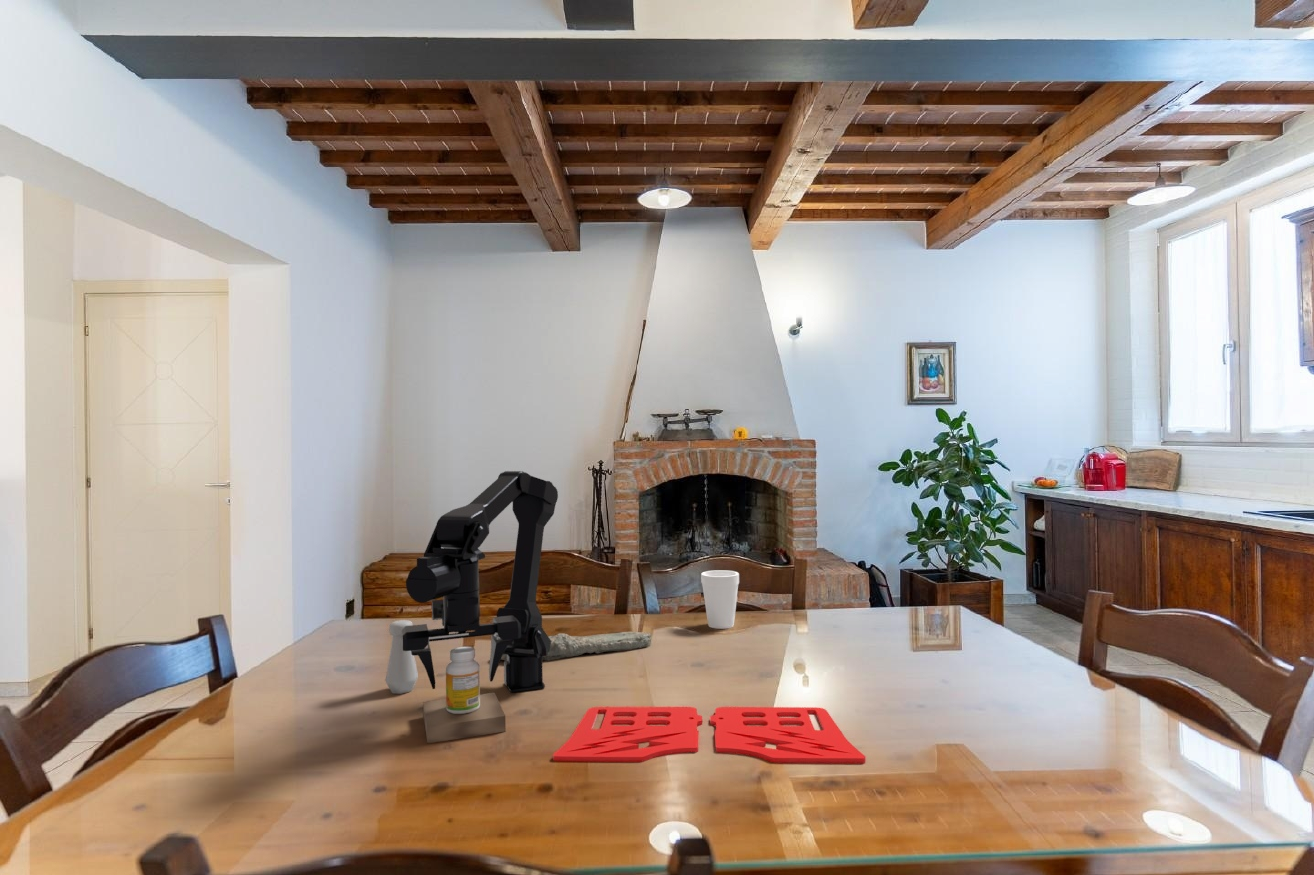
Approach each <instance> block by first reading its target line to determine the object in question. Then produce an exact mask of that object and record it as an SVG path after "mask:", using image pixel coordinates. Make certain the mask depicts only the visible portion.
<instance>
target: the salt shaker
mask: <svg viewBox="0 0 1314 875" xmlns="http://www.w3.org/2000/svg"><path fill="white" fill-rule="evenodd" d="M412 625H414V624H413V622H412V621H411V620H407V619H400V620H395V621H393V622H391V623H390V624H389V628H388V632H389V635H390V636H392V638H391V639H392V640H391V646H390V651H389V658H388V663H387V670H386V675H385V680H384V681H385V684H386V685H387V687H388V688H389V691H390V692H391V694H398V695H401V694H406V693H410V692H412V691H413V690H414V689H415V685H416V683H417V681H418V676H419V674H418V668H417V662H416V658H415V656H413V655H411V651H403V648H402V629H403V628H404V627H405V626H412Z"/></svg>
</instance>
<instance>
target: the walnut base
mask: <svg viewBox="0 0 1314 875" xmlns="http://www.w3.org/2000/svg"><path fill="white" fill-rule="evenodd" d="M422 718H423V725H424V731H425V737H426V743H427V744H435V743H441V742H446V741H453V740H458V739H459V740H460V739H467V738H472V737H479V736H485V735H486V736H487V735H491V734H498V733H505V732H506V731H507V729H506V728H507V726H506V725H507V724H506V714H505V712H504V710H503V708H502V706H501V703H500V701H499V699H498V696H497V695H496V693H495V692H489V693H482V694H481V693H480V707H479V708H478V709H477V710H475V711H473V712H470V713H465V714H453V713H450V712H448V711H447V708H446V698H444V699H437V700H430V701H428V700H427V701H422Z"/></svg>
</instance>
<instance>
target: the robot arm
mask: <svg viewBox="0 0 1314 875" xmlns="http://www.w3.org/2000/svg"><path fill="white" fill-rule="evenodd" d="M497 477H498V478H497V479H495V481H493V482H492V483H491V484H490V485H489V486H487V487H486V488H485V489H484V490H483V491H482V492H481V493H480V494H478V496H476V497H475V498H474V499H473V500H472V501H471V502H470V503H468V504H467V505H464V506H461V507H458V508H454V509H452V510H450V511H448V512H446V513H445V514H444V513H443V515H441V516H440V517H439V518H438V520H437V522H436V525H435V527H434V529H433V531H432V534H431V537H430V539H429V541H428V544H427V546H426V549H425V551H424V554H423V556H420V557H417V558H416V566H414V567H413V568H411V570H410V571H409V573H408V575H407V578H406V580H405V586H406V591H407V593H408V595H409V596H410V597H411V599H412V600H413V601H415V602H417V603H419V604H425V603H428V602H431V617H432V618H431V620H432V621H439V620H441V624H442V627H443V628H433V629H429V628H428V625H427V623H424V624H413V625H412V626H405V627H404V628H403V629H402V648H403V651H411V655H413V656H414V657H415V656H418V658H419V659H420V661H421V663H422V665H423V667H424V669H425V671H426V674H427V677H428V680H429V683H430V685H431V688H432V690H435V689H436V676H435V669H434V664H433V658H432V651H431V645H430V642H438V641H439V642H440V641H446V640H455V639H465V638H466V639H467V638H472V637H473V638H475V637H484V636H490V641H491V642H490V657H489V668H488V672H489V673H488V675H489V682H491V683H492V682H493V681H494V678H495V675H496V672H497V670H498V667H499V664H500V662H501V657H502V655H503V654H505V655H507V661H505V660H504V662H503V679H504V680H503V683H504V685H505V686H506V687H507V688H508V691H509V692H510V693H516V692H524V691H531V690H539V689H544V688H546V684H545V683H544V682H543V679H544V678H543V660H542V656H547V655H548V652H549V651H550V644H551V640H550V639H549V637H548V636H549V635H548V634H547V632H546V631H545V630H544V629H543V616H542V614H541V611H540V609H539V606H538V604H537V601H536V599H537V591H538V582H539V573H540V565H541V556H542V548H543V547H542V546H543V540H544V530H545V526H546V525H547V524H548V523H549V521H550V520H551V519H552V517H553V516H554V514H555V508H556V504H557V502H558V498H559V493H558V492H559V491H558V489H557V487H556V486H555V485H554V484H553V482H552V481H549V480H544V479H541V478H540V477H539V478H538V477H535V476H533V475H531V474H529V473H527V472H525V471H523V470H514V471H513V470H505V471H503V472H500V473H499V475H498V476H497ZM511 503H512V512H513V514H514V516H515V518H516V521H517V523H518V527H517V537H516V545H515V553H514V560H513V561H514V562H513V568H512V575H511V576H512V577H511V583H510V585H511V586H510V593H509V599H508V600H507V602H506V604H505V605H504V606H503V607H499V608H498V609H497V611H496V616H494V617H492V623H491V622H490V623H480V581H479V580H480V576H479V575H480V574H479V569H480V568H479V565H480V564H479V560H480V561H481V560H484V559H485V558H486V554H485V553H484V552H483V551H481V549H479V548H480V547H481V545H482V544H484V542H485V540H486V539H487V537H488V536H489V534H490V525H491V524H492V522H493V521H494V520H495V519H496V518H497V517H499V515H500V514H501V513H503V511H504V510H506V509H507V508H508V507H509V505H511ZM440 598H442V599H440Z"/></svg>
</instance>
